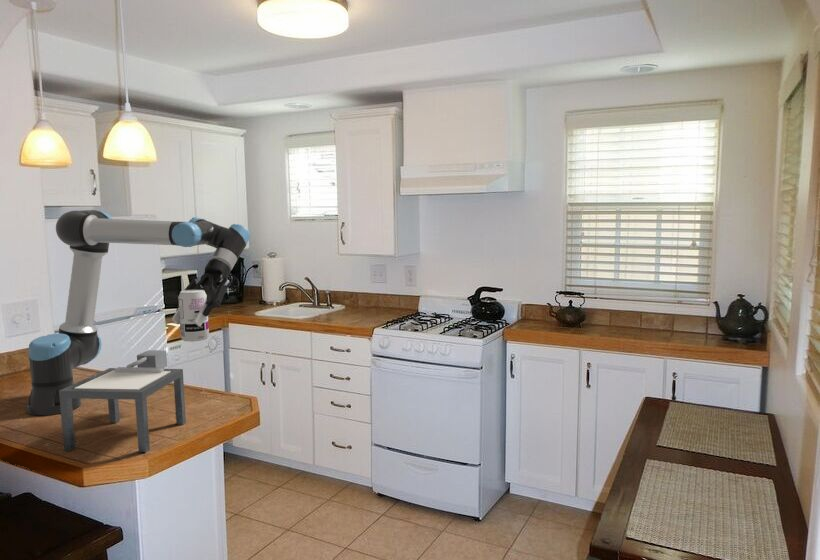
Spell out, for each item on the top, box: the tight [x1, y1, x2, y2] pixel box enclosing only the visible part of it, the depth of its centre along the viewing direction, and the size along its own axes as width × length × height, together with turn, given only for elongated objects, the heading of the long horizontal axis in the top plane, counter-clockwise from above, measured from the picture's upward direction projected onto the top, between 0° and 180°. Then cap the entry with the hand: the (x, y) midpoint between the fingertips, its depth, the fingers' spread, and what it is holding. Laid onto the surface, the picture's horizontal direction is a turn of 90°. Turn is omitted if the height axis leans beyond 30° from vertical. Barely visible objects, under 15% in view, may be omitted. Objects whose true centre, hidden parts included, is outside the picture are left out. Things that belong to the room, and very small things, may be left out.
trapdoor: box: [74, 349, 171, 390], centre depth 180 cm, size 18×35×5 cm, turn 174°
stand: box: [59, 367, 187, 454], centre depth 173 cm, size 23×23×16 cm
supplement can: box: [177, 289, 210, 343], centre depth 188 cm, size 8×8×15 cm
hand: (185, 322), depth 186 cm, fingers closed on supplement can, 8 cm apart
